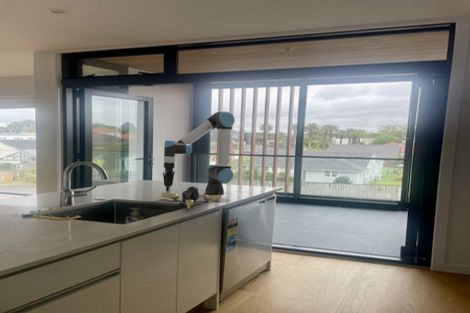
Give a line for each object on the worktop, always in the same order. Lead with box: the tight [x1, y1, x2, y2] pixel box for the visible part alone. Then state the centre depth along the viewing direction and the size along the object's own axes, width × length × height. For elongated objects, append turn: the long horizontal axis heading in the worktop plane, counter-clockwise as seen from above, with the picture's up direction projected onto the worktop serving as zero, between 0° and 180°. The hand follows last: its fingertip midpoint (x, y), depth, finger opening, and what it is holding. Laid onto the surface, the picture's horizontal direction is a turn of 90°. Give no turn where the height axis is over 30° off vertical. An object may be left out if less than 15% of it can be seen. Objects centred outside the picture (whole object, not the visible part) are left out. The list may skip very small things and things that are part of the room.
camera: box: [181, 185, 200, 202], centre depth 244 cm, size 13×10×10 cm
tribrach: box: [174, 194, 223, 209], centre depth 244 cm, size 42×27×4 cm, turn 154°
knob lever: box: [161, 192, 180, 200], centre depth 252 cm, size 14×5×4 cm, turn 64°
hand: (168, 195), depth 255 cm, fingers closed
